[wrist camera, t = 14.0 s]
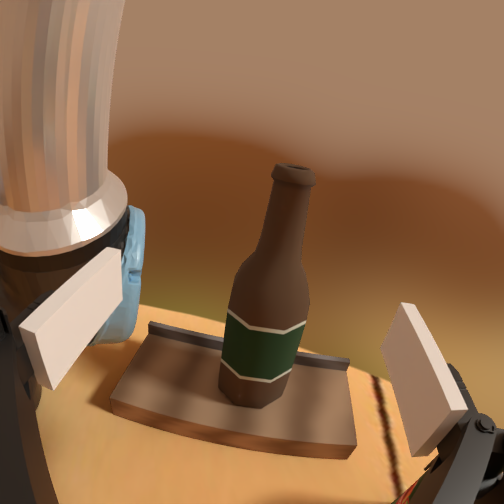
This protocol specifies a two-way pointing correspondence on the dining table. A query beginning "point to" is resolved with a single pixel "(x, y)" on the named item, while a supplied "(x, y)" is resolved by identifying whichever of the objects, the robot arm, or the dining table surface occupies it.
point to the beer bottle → (269, 298)
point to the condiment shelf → (224, 410)
